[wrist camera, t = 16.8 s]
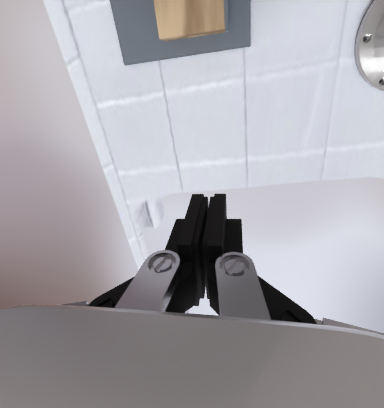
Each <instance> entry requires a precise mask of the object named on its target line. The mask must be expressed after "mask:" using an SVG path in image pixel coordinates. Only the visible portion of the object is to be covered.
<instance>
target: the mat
mask: <svg viewBox="0 0 384 408" xmlns="http://www.w3.org/2000/svg"><path fill="white" fill-rule="evenodd" d="M110 3H111V8H112V12H113V16H114V21H115V25H116V30H117V34H118V39H119V43H120V47H121V52H122V56H123V61H124V65H131V64H137V63H144V62H150V61H157V60H163V59H170V58H177V57H183V56H190V55H196V54H203V53H209V52H216V51H223V50H229V49H236V48H242V47H249V46H250V0H228V24H229V32H224V33H217V34H211V35H204V36H197V37H191V38H184V39H178V40H171V41H164V40H161V39H159V34H158V27H157V20H156V14H155V7H154V0H110Z"/></svg>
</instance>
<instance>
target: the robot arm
mask: <svg viewBox="0 0 384 408" xmlns="http://www.w3.org/2000/svg"><path fill="white" fill-rule="evenodd" d="M364 36H365V37H366V39H365V41H363V38H364ZM355 58H356V64H357V67H358V70H359V72H360V74H361V76H362V77H363V78H364V80H365V81H366V82H367V83H369V84H370V85H371V86H372V87H375V88H377V89H379V90H382V91H384V0H374V1H373V2H372V4H371V5H370V7H369V9H368V10H367V12H366V14H365V16H364V18H363V20H362V23H361V25H360V28H359V30H358V35H357V39H356V45H355ZM380 79H381V82H380V83H379V81H380ZM205 287H206V290H207V298H208V299H209V300H210V306H211V307H212V308H213V309H214V310H215V311H216V313H217V314H218V315H219V316H214V315H201V314H188V309H190V308H191V307H192V306H199V300H200V298H204V294H205ZM0 408H384V334H383V333H380V332H376V331H372V330H368V329H364V328H360V327H357V326H353V325H349V324H345V323H341V322H337V321H334V320H330V319H326V318H323V320H322V321H321V320H317V319H314V318H313V317H312V316H311V315H310V314H309V313H308V312H307V311H306V310H304V309H303V308H301V307H300V306H299V305H298V304H296V303H295V302H293V301H292V300H291V299H289V298H288V297H286V296H285V295H284V294H282V293H281V292H280V291H278V290H277V289H275V288H274V287H273V286H271V285H270V284H268V283H267V282H266V281H264V280H263V279H261V278H260V277H259V276H257V273H256V270H255V266H254V263H253V262H252V259H250V258H249V257H248V256H247V255H245V254H243V246H242V224H241V219H227V217H226V194H215V196H214V197H210V203H209V207H208V197H204V195H203V194H192V197H191V200H190V204H189V207H188V210H187V213H186V216H185V219H177V220H176V222H175V224H174V227H173V229H172V232H171V235H170V238H169V240H168V243H167V246H166V248H165V250H162V251H158V252H155V253H153V254H151V255H150V256H149V257H148V258H147V259H146V260H145V262H144V263H143V265H142V266H141V268H140V269H139V271H138V273H137V274H136V276H135V277H133V278H132V279H130V280H128V281H126V282H124V283H122V284H121V285H119V286H117V287H115V288H114V289H111V290H110V291H108V292H106V293H104V294H102V295H101V296H99V297H97V298H96V299H94V300H93V301H92V302H91V303H90V304H88V302H87V301H83V302H76V303H69V304H62V305H55V304H30V305H17V306H11V307H4V308H1V309H0Z"/></svg>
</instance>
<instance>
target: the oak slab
mask: <svg viewBox="0 0 384 408" xmlns="http://www.w3.org/2000/svg"><path fill="white" fill-rule="evenodd" d="M154 7H155V14H156V20H157V27H158V34H159V39H161V40H164V41H171V40H178V39H184V38H191V37H197V36H204V35H211V34H217V33H224V32H229V24H228V0H154Z"/></svg>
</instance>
